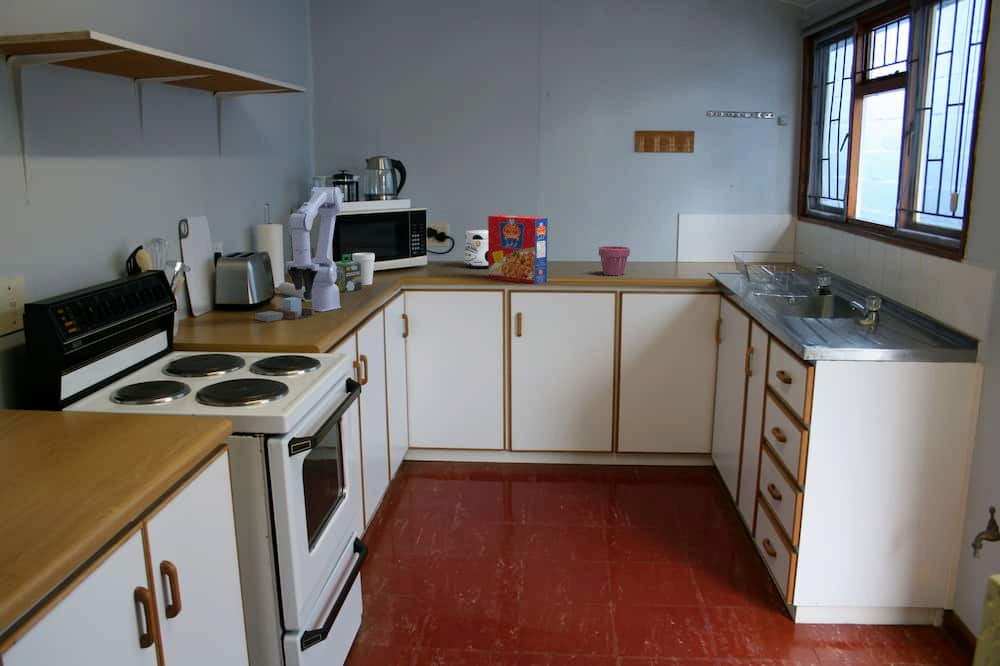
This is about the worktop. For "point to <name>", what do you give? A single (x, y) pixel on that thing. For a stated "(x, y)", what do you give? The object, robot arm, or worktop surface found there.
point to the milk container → (476, 248)
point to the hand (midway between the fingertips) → (303, 290)
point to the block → (292, 305)
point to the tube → (295, 291)
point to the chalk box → (348, 275)
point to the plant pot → (613, 259)
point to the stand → (269, 316)
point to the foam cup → (365, 266)
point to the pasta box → (517, 248)
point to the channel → (294, 315)
